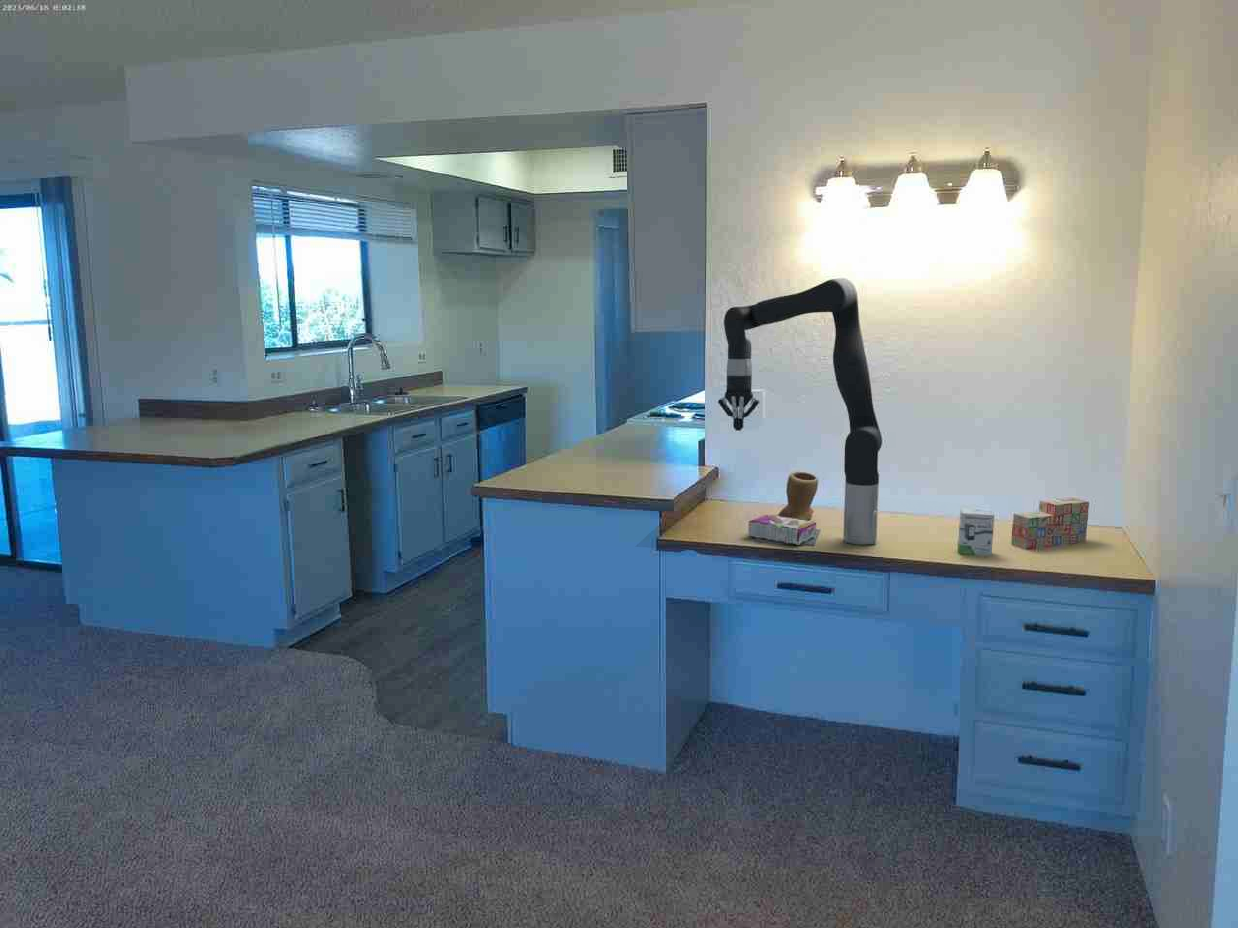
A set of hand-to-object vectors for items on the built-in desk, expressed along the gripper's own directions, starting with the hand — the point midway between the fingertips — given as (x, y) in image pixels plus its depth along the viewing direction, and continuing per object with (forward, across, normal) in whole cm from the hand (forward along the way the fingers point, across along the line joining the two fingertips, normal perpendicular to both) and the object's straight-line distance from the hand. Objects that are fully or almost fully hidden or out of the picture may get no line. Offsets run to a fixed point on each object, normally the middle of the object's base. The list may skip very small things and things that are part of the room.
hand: (738, 430), depth 297 cm
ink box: (+29, -69, +16) cm, 77 cm away
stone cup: (+29, -18, -10) cm, 36 cm away
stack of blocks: (+29, -90, 0) cm, 94 cm away
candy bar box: (+26, -8, +13) cm, 30 cm away
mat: (+29, -18, +12) cm, 36 cm away
